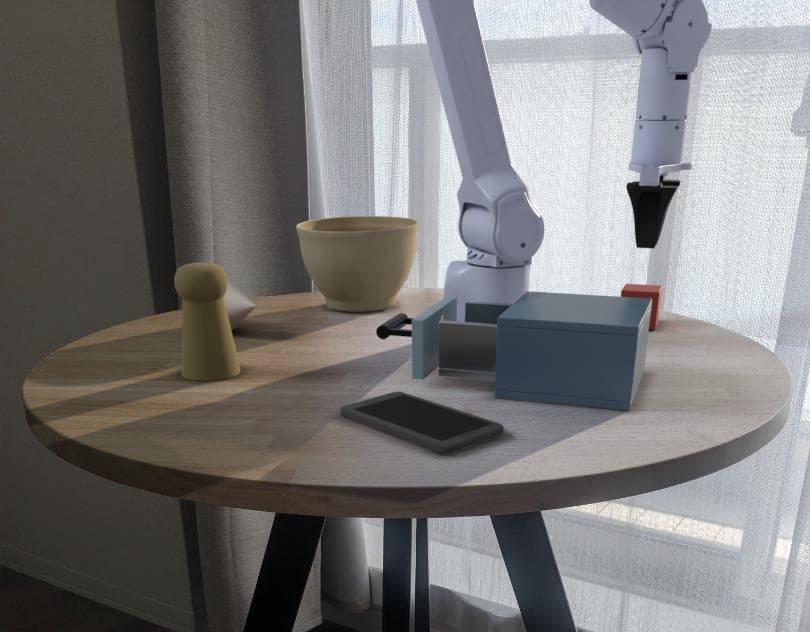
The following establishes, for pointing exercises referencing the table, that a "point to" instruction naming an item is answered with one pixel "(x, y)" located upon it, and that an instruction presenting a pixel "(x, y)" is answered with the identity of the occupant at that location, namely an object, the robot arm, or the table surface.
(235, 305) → the grey cone
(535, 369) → the cabinet
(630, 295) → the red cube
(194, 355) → the cork
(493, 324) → the drawer
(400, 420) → the cell phone
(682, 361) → the table surface
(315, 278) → the planter bowl
